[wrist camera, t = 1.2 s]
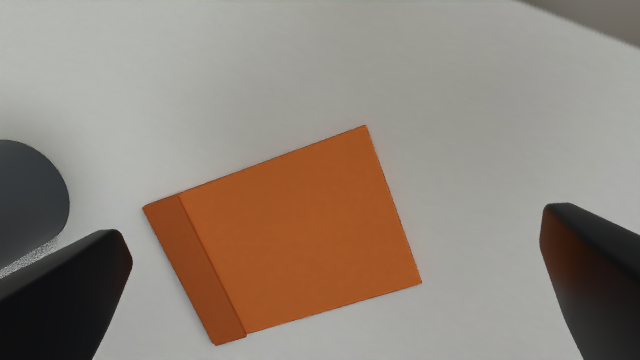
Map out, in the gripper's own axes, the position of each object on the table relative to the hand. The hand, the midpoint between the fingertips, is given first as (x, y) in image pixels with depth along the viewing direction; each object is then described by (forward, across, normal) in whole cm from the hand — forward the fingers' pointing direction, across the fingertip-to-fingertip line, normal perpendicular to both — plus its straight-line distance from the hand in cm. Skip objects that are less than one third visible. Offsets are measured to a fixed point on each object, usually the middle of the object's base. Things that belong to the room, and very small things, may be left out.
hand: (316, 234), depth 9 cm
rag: (+12, +5, +10) cm, 16 cm away
